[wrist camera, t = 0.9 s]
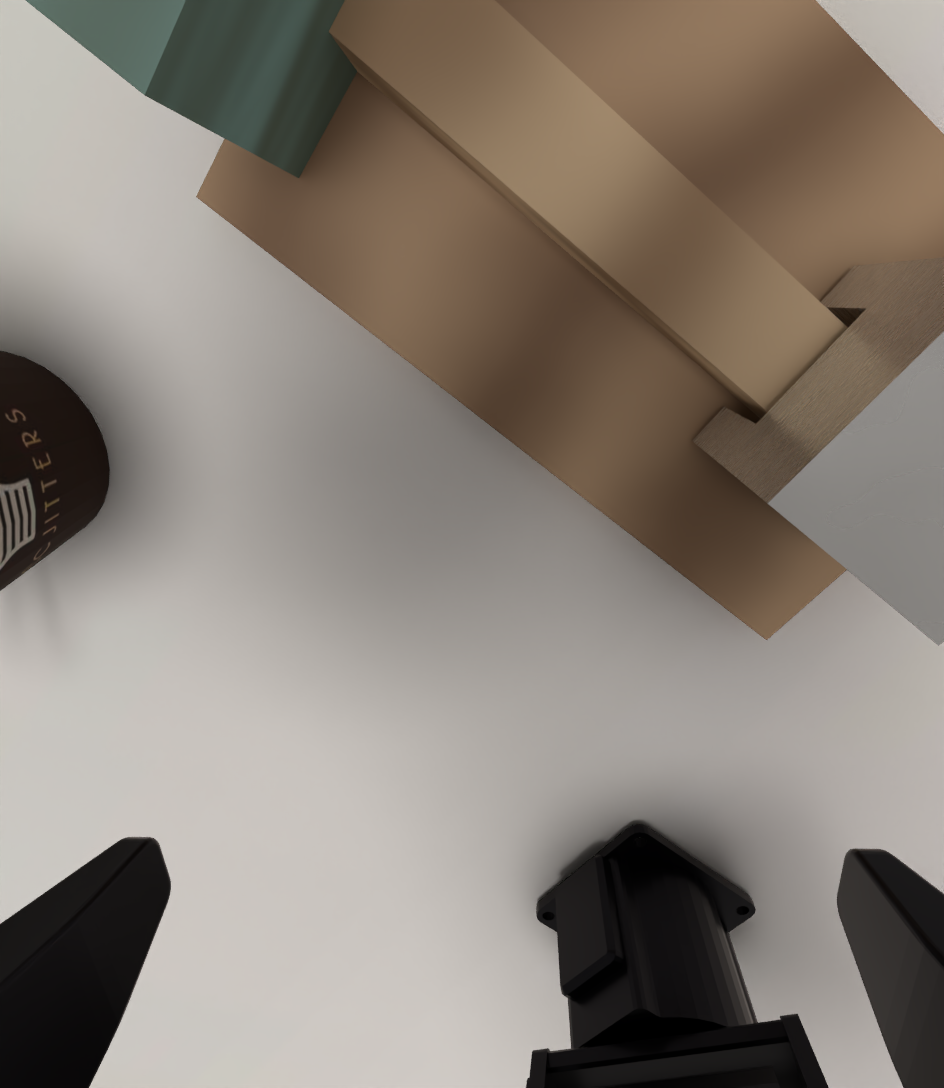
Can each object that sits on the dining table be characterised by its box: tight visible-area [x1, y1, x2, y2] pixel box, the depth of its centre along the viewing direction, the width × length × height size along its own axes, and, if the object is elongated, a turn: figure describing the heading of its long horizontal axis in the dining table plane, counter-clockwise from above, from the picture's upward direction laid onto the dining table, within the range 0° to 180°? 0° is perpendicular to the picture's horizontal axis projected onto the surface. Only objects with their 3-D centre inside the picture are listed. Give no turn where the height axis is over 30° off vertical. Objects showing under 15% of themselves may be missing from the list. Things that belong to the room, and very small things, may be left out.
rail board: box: [26, 0, 944, 640], centre depth 13 cm, size 21×12×8 cm, turn 53°
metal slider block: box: [692, 257, 944, 646], centre depth 14 cm, size 5×6×6 cm
